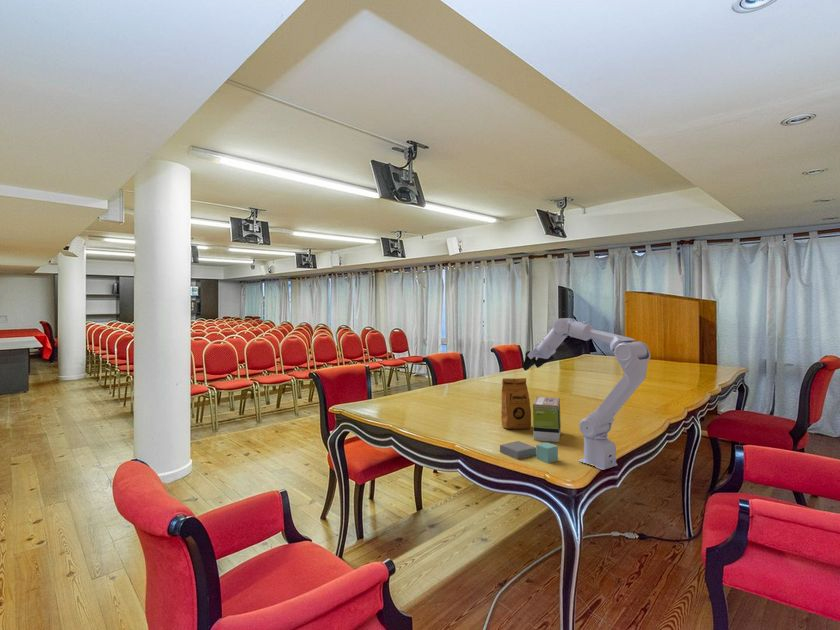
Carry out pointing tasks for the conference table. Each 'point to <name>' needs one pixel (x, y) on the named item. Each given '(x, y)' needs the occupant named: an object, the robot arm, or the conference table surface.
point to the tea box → (546, 419)
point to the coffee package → (515, 404)
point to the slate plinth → (518, 450)
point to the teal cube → (547, 452)
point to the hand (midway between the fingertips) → (530, 367)
